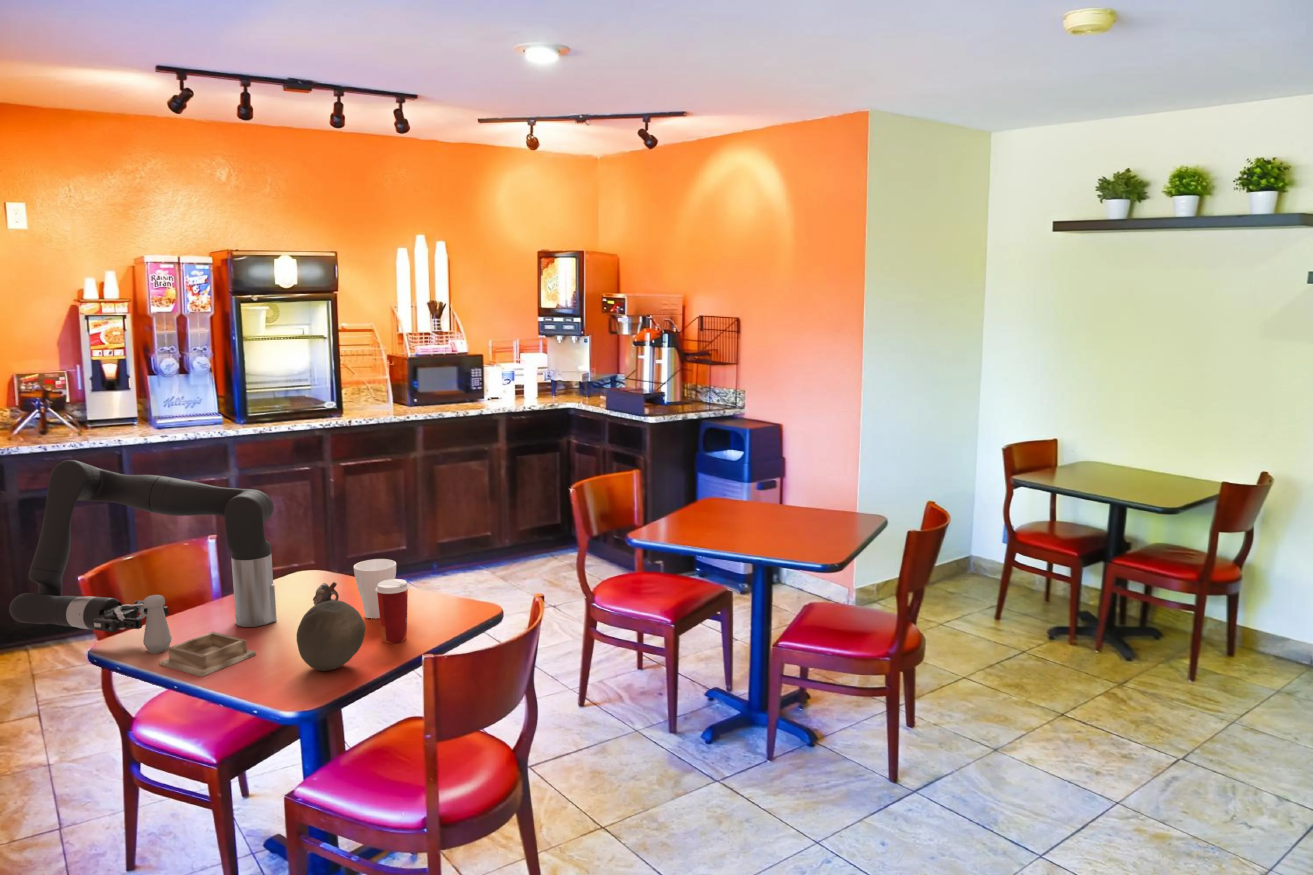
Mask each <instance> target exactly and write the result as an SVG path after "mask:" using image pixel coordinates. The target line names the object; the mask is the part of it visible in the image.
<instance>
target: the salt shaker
mask: <svg viewBox="0 0 1313 875" xmlns="http://www.w3.org/2000/svg"><path fill="white" fill-rule="evenodd" d="M143 601H144V606H145V608H148V611H147V612H146V613H147V616H146V618H145V626H144V634H143V640H142V644H143V645H144V647H145V648H146V650H147V651H148V653H149V654H160V653H164V652H166V651H168V648H169V647H171V646H170V645H171V643H172V635H171V631H170V627H169V624H168V621H167V618H166V617H167V616H165V613H164V610H163V606H165V604H166V600H165V596H163V595H161V594H152V595H149V596H146V597H145V598H144V599H143Z"/></svg>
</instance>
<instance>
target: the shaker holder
mask: <svg viewBox="0 0 1313 875" xmlns="http://www.w3.org/2000/svg"><path fill="white" fill-rule="evenodd" d="M247 646H248V645H247V640H246V639H243V638H239V637H235V636H233V635H232V636H231V635H227V634H224V633H221V632H220V633H219V632H216V631H211V632H208V633H205V634H203V635H202V634H201V635H199V636H197V637H194V638H192V639H191V638H190V639H189V640H186V641H182V642H180V643H177V644H175V645H171V646H169V648H168V649H167V651H168V658H165V659H163V660H160V661H159V665H160V666H163V667H166V668H170V669H173V670H177V671H180V672H184V673H187V674H190V675H194V676H198V677H202V678H203V677H205V676H208V675H209V674H212V673H215V672H218V671H220V670H222V669H225V668H227V667H229V666H232V665H235V664H237V663H240V662H242V661H245V660H247V659H250V658H252V657H255V656H256V655H257V653H256V651H254V650H250V649H247V648H248V647H247Z"/></svg>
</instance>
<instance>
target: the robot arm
mask: <svg viewBox="0 0 1313 875" xmlns="http://www.w3.org/2000/svg"><path fill="white" fill-rule="evenodd" d="M48 479H49V480H48V486H47V493H46V494H47V495H46V501H45V508H44V514H43V520H42V526H41V531H40V535H39V539H38V543H37V547H36V550H35V553H34V555H33V559H32V562H31V564H30V569H29V571H28V579H29V580H30V581H31V582H33V583H35V584H37V593H36V592H35V593H34V592H23V593H21V594H19V595H17V596H15V597H14V598H13V599H12V601H11V602H10V604H9V606H8V608H9V611H8V612H9V614H10V616H11V617H12V619H13V620H14V621H16V622H18V623H22V624H23V623H24V624H38V625H46V624H50V625H57V626H62V627H70V628H71V627H72V628H73V627H75V628H78V629H85V630H95V631H102V632H108V633H109V632H111V633H116V632H118V630H125V629H131V630H140V629H142V627H143V622H142V621H143V620H142V619H145V617H147V611H148V608H145V606H144V600H135V601H134V604H129V603H126V604H123V603H121V602H120V600H118V599H117V598H115V597H103V596H88V595H87V596H77V595H75V596H74V595H63V576H64V574H65V570H66V568H67V564H68V561H69V557H70V554H71V546H72V543H71V542H72V541H71V540H72V536H71V535H72V534H71V530H72V528H71V527H72V526H71V525H72V518H73V513H74V509H75V507H76V504H77V502H78V501H82V502H83V501H85V502H101V503H102V502H103V503H114V504H120V505H124V506H127V507H129V508H132V509H137V510H140V511H145V512H149V513H154V514H159V515H167V516H174V517H175V516H176V517H177V516H178V517H180V516H181V517H187V516H188V517H190V516H191V517H193V516H208V515H209V516H220V517H223V520H224V528H225V538H226V543H227V547H228V549H229V550H230V558H231V570H232V571H231V572H232V573H231V574H232V584H233V585H232V586H233V587H232V588H233V598H234V614H235V615H234V617H235V625H237V626H239V627H243V628H253V627H254V628H255V627H262V626H265V625H269V624H272V623H274V622H275V623H276V622H278V620H277V618H278V617H277V605H276V602H277V601H276V590H275V589H276V586H275V584H274V576H273V575H274V573H273V560H272V545H271V543H270V541H268V540H267V539H266V537H265V529H264V526H265V525H264V523H266V522H267V521H268V520H269V519H270V518H271V517H272V515H273V513H274V509H275V508H274V506H275V505H274V503H273V500H272V499H271V497H270V495H268V494H267V493H264V492H263V491H261V490H259V489H251V488H236V487H234V488H233V487H232V488H231V487H221V486H216V485H210V484H206V483H202V482H196V481H193V480H192V481H191V480H184V479H182V478H181V479H180V478H176V477H170V476H163V475H158V474H157V475H155V474H123V473H119V472H114V471H110V470H107V469H102V468H100V467H99V468H98V467H96V466H93V465H91V464H87V463H85V462H82V461H79V460H75V459H67V460H64V461H63V460H62V461H61V462H59V463H58V464H56V465H55V466H54V467H53V469H52V471H51V472H50V476H49V478H48ZM163 610H164V613H165V617H167V616H169V615H170V613H169V607H168V606H165V605H163ZM138 613H140V614H139V615H138Z"/></svg>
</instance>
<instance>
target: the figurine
mask: <svg viewBox="0 0 1313 875" xmlns="http://www.w3.org/2000/svg"><path fill="white" fill-rule="evenodd" d="M336 587H337V583H336V582H335V581H333V582H332V583H331V584H330V585H329V584H328V583H326V582H323V583H321V584H320V585H319V586H318V587H317V589H316V590H315V595H314V597H313V598H312V601H313V605H314V606H315V605H317V604H319V603H322V602H326V601H331V600H337V601H339V593H338V591H337V590H336ZM332 595H333V596H335V598H334V599H333V598H332Z"/></svg>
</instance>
